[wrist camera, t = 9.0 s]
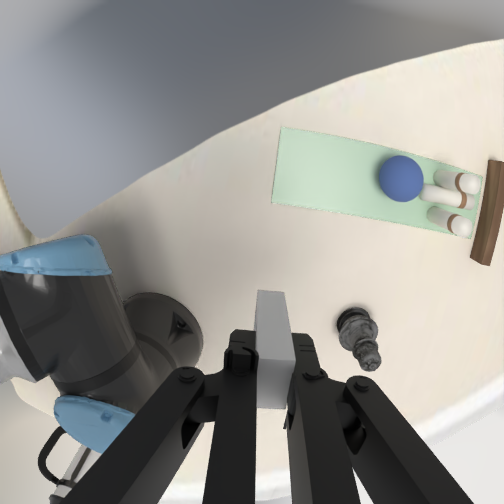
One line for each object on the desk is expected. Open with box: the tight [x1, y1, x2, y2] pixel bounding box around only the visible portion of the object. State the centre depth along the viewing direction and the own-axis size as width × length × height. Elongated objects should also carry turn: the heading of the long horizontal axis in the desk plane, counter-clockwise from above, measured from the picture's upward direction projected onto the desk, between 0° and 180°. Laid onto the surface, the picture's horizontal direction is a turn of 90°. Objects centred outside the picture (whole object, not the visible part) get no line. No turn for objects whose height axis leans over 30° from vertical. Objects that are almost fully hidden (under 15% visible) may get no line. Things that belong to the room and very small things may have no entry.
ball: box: [379, 155, 424, 202], centre depth 35 cm, size 6×6×6 cm
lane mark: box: [271, 127, 483, 239], centre depth 38 cm, size 32×10×1 cm, turn 83°
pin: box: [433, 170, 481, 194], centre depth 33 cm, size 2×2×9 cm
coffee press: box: [38, 426, 102, 504], centre depth 43 cm, size 17×16×30 cm
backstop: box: [470, 160, 504, 266], centre depth 36 cm, size 2×16×4 cm, turn 173°
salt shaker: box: [337, 308, 381, 372], centre depth 39 cm, size 6×6×12 cm
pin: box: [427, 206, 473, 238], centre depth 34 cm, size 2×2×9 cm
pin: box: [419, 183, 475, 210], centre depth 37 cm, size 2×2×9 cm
